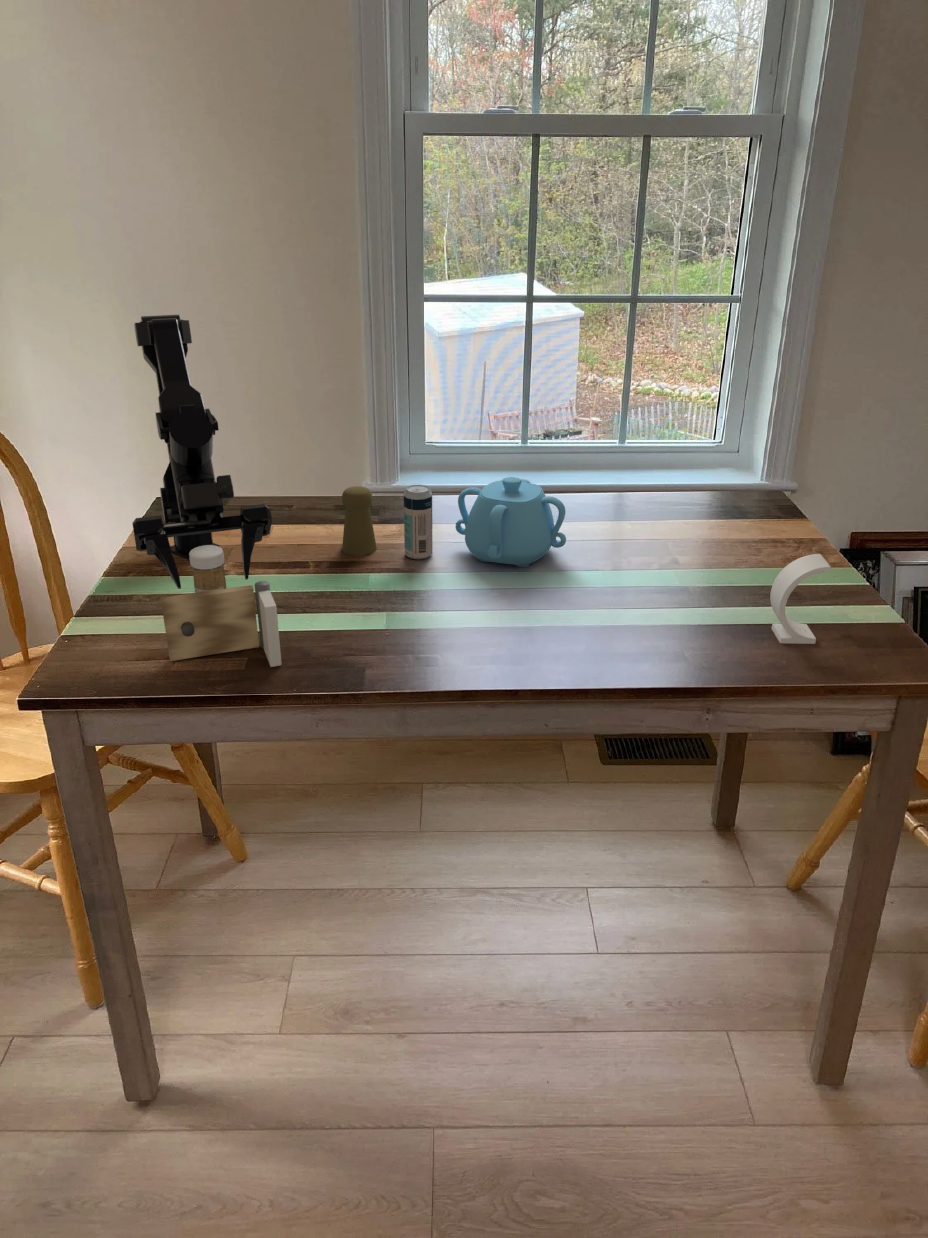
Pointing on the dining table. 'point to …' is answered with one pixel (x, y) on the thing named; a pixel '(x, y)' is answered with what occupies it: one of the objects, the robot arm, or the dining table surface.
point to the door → (210, 622)
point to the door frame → (268, 623)
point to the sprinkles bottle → (208, 568)
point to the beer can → (418, 521)
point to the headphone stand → (784, 587)
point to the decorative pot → (510, 522)
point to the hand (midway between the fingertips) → (213, 583)
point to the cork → (358, 522)
